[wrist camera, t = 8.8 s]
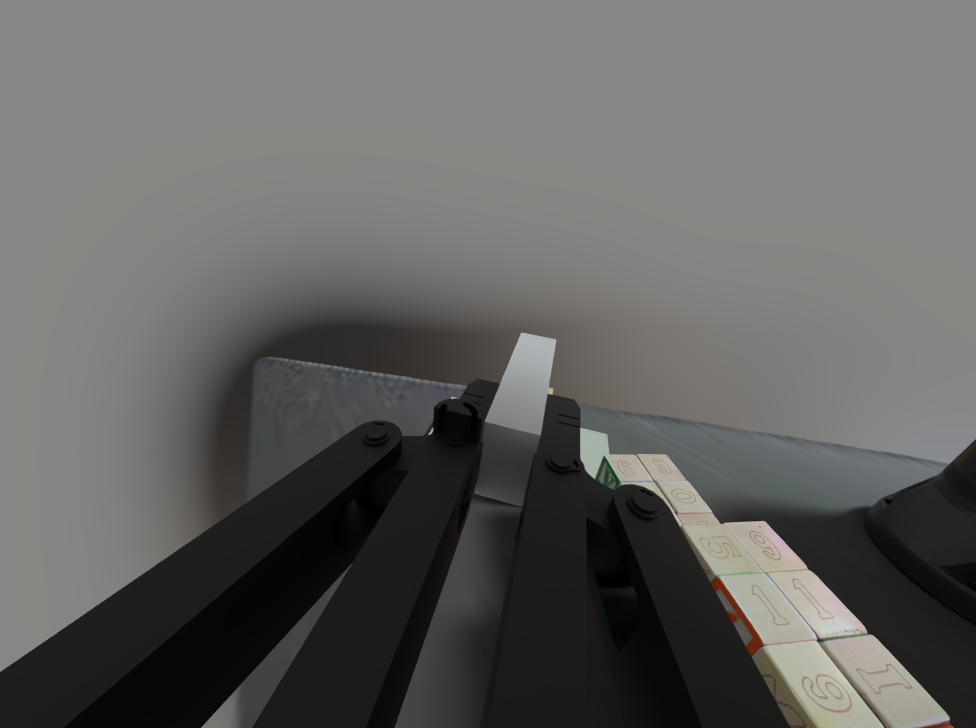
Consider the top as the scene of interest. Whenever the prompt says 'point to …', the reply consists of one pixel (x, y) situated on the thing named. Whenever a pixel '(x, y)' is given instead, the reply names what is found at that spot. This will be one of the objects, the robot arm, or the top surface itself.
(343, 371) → the top surface
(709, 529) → the stack of blocks
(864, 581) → the top surface
